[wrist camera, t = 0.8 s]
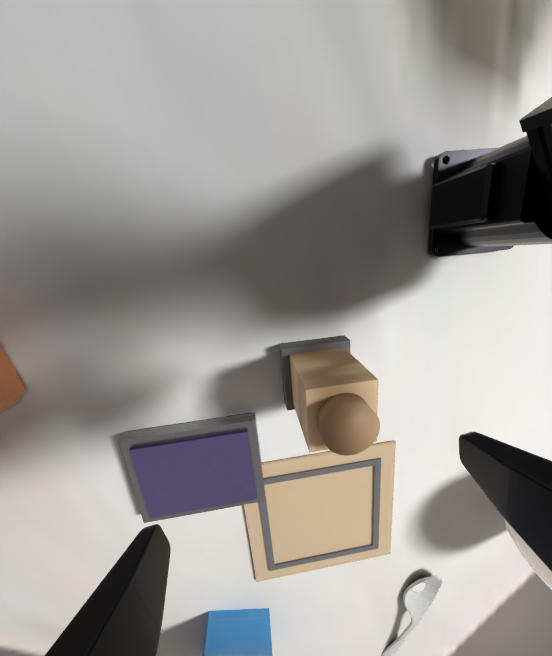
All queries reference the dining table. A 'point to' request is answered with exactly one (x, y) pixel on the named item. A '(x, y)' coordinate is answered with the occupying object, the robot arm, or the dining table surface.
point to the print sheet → (322, 511)
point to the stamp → (330, 395)
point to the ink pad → (194, 466)
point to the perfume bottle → (238, 633)
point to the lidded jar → (531, 557)
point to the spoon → (415, 608)
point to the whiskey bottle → (9, 383)
